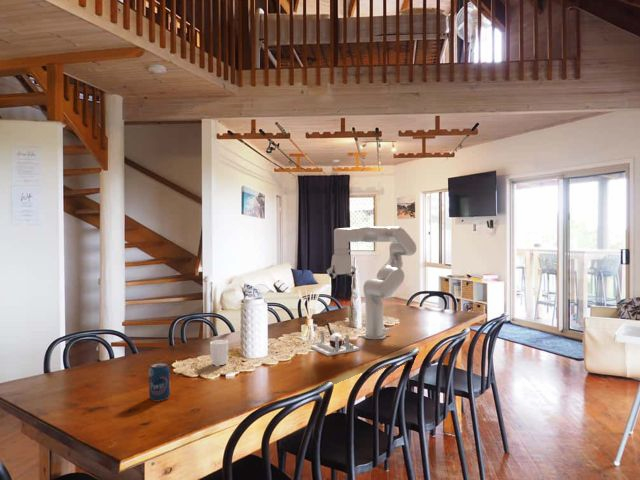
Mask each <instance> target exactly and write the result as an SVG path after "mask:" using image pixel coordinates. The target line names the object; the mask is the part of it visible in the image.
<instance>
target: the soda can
mask: <svg viewBox="0 0 640 480" xmlns="http://www.w3.org/2000/svg"><path fill="white" fill-rule="evenodd" d="M170 376H171V374H170V367H169V366H168V363H167V362H165V361H164V362H163V361H161V362H160V361H159V362H154V363H151V364H150V367H149V370H148V391H149V398H150V399H151V400H152V401H153V400H154V402H156V401H157V402H159V401H160V400H161V401H165V400H167V399H168V398H169V396H170V395H171V380H170V379H171V377H170ZM164 399H165V400H164Z"/></svg>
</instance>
